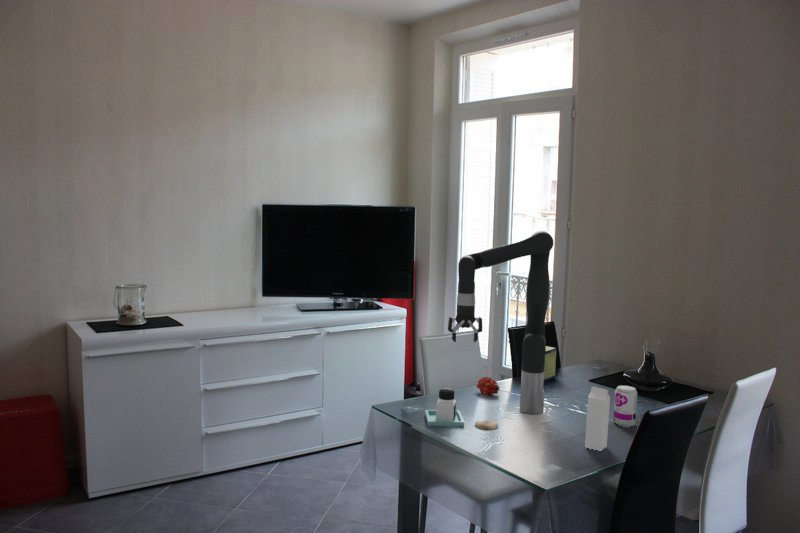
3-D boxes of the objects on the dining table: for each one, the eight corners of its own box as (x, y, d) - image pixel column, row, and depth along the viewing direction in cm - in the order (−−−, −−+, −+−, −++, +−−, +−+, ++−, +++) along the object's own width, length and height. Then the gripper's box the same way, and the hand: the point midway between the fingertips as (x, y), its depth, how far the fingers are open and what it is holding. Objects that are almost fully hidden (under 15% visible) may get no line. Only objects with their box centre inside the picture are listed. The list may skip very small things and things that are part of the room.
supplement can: (624, 429, 258) (627, 391, 257) (608, 422, 266) (611, 386, 264) (639, 426, 262) (642, 389, 261) (623, 419, 270) (626, 384, 268)
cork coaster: (495, 421, 262) (495, 420, 262) (500, 430, 253) (500, 428, 253) (473, 421, 262) (473, 420, 262) (476, 429, 253) (476, 428, 253)
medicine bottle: (453, 423, 257) (455, 393, 256) (435, 421, 259) (436, 391, 257) (455, 417, 264) (456, 387, 263) (437, 415, 266) (438, 386, 264)
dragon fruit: (478, 393, 304) (497, 404, 296) (469, 386, 299) (488, 396, 290) (487, 378, 306) (507, 388, 297) (479, 370, 301) (498, 380, 292)
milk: (590, 443, 242) (594, 384, 240) (607, 447, 239) (611, 388, 237) (584, 448, 238) (588, 388, 235) (601, 452, 234) (605, 391, 232)
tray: (459, 415, 269) (459, 410, 269) (464, 427, 255) (464, 422, 255) (425, 414, 268) (425, 409, 268) (428, 426, 254) (428, 421, 254)
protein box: (555, 378, 329) (557, 347, 328) (539, 384, 318) (541, 352, 316) (536, 373, 336) (538, 343, 335) (520, 379, 325) (522, 348, 323)
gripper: (481, 302, 281) (479, 339, 282) (447, 301, 280) (446, 339, 281) (484, 305, 273) (483, 343, 275) (450, 304, 272) (449, 343, 274)
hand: (464, 341), depth 278 cm, fingers open, 8 cm apart
